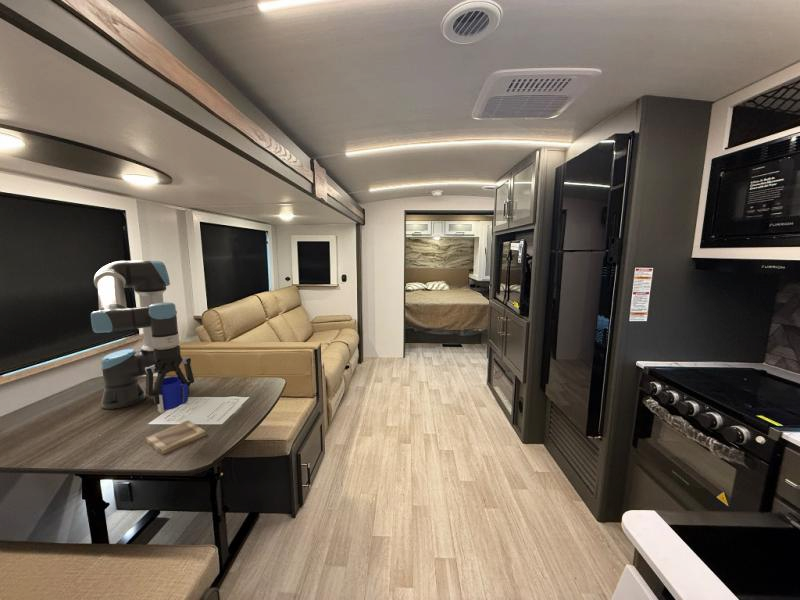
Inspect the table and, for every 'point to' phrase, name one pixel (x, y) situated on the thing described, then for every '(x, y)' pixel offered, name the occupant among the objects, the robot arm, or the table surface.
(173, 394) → the mug
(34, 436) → the table surface
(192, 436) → the trivet
